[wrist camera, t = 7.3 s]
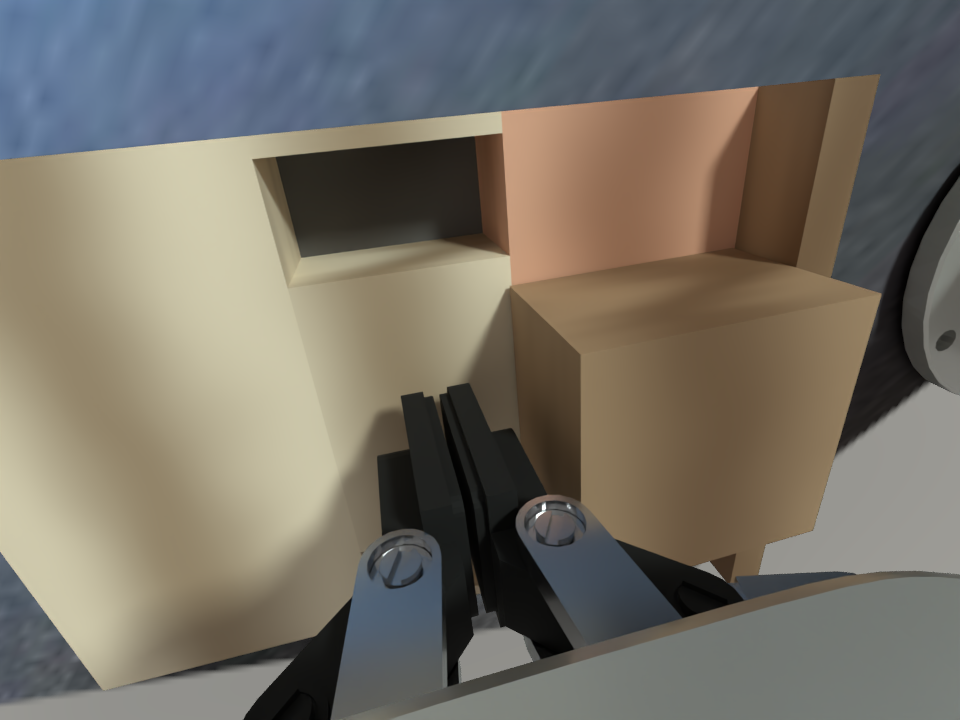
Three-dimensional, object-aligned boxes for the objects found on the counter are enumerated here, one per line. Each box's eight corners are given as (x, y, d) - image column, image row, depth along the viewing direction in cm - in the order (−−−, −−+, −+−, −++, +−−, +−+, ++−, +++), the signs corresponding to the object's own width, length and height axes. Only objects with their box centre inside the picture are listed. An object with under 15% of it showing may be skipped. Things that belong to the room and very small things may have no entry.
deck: (712, 91, 14) (880, 74, 9) (669, 478, 20) (757, 578, 16) (-113, 172, 11) (-452, 203, 6) (143, 602, 17) (66, 770, 12)
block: (732, 247, 12) (881, 293, 9) (705, 438, 15) (812, 530, 12) (509, 286, 11) (580, 355, 8) (523, 482, 14) (581, 598, 11)
